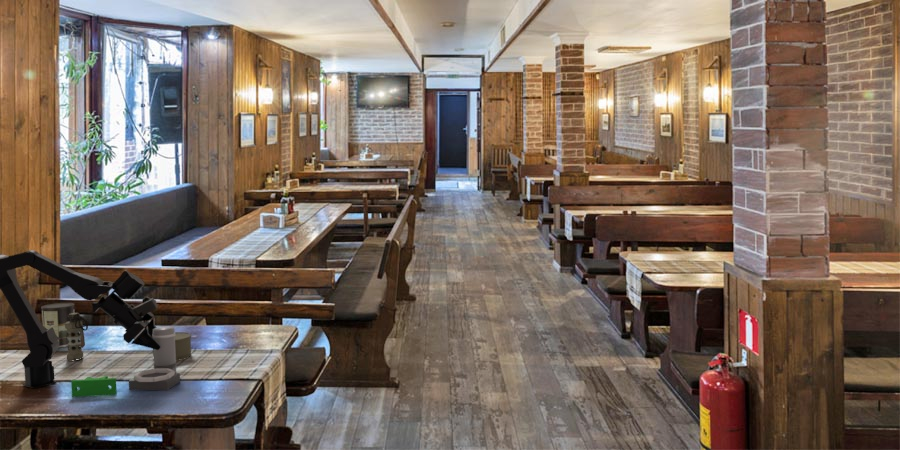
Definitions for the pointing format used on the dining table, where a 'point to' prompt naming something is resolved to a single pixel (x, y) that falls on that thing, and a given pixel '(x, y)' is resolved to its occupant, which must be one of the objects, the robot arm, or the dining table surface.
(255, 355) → the dining table surface
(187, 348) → the can
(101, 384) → the pipe clamp
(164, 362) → the lens
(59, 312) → the coffee can
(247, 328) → the dining table surface
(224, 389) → the dining table surface
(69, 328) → the grenade model
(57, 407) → the dining table surface
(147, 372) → the octagonal tray on plate
